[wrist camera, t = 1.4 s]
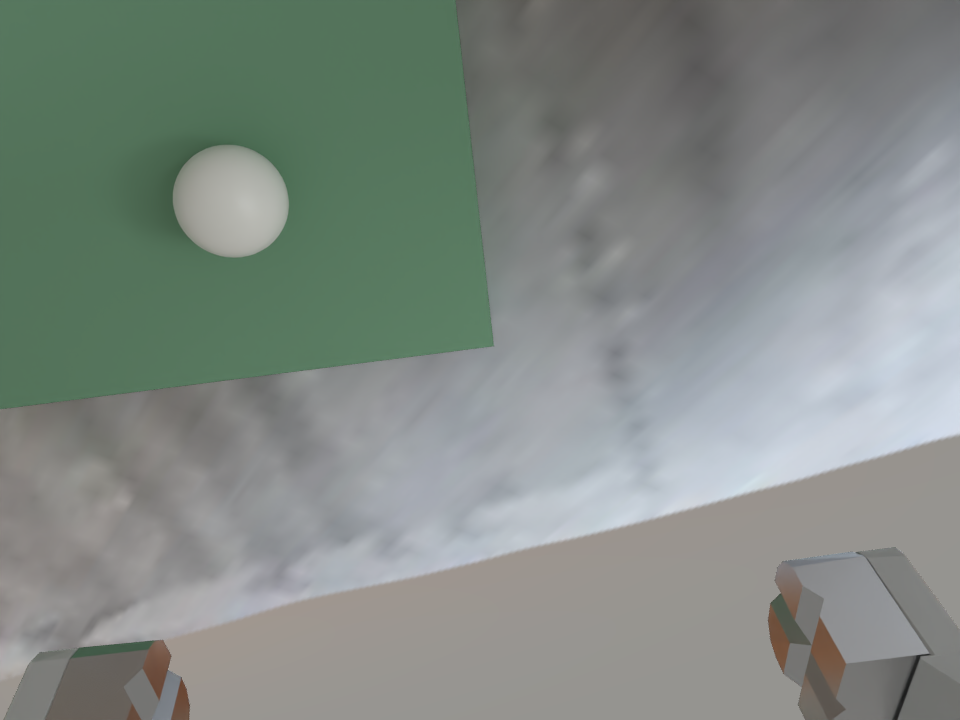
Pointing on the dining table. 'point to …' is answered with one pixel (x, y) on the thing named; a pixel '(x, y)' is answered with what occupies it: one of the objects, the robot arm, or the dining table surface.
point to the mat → (243, 122)
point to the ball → (230, 201)
